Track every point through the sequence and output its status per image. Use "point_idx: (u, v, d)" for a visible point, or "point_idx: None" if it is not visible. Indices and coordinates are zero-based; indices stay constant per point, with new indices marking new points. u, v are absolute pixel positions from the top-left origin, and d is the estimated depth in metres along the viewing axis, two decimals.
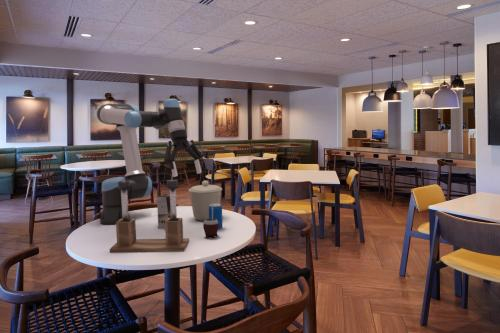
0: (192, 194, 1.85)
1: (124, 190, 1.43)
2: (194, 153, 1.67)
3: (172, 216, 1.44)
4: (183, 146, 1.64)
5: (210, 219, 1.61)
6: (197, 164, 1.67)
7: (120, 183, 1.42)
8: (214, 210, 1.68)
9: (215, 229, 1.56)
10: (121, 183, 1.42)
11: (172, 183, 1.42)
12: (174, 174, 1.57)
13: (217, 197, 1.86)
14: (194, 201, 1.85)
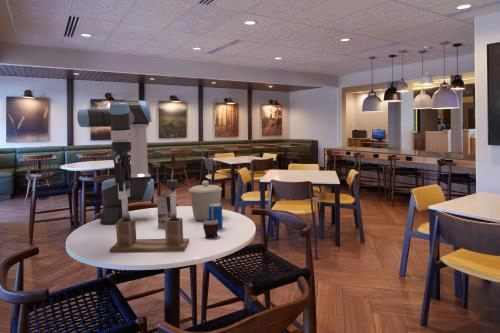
0: (192, 194, 1.85)
1: None
2: (128, 172, 1.46)
3: (172, 216, 1.44)
4: None
5: (210, 219, 1.61)
6: None
7: None
8: (214, 210, 1.68)
9: (215, 229, 1.56)
10: None
11: (172, 183, 1.42)
12: (122, 197, 1.41)
13: (217, 197, 1.86)
14: (194, 201, 1.85)
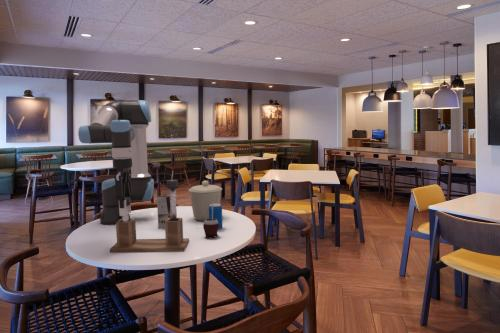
0: (192, 194, 1.85)
1: None
2: (129, 188, 1.47)
3: (172, 216, 1.44)
4: None
5: (210, 219, 1.61)
6: None
7: None
8: (214, 210, 1.68)
9: (215, 229, 1.56)
10: None
11: (172, 183, 1.42)
12: (122, 213, 1.42)
13: (217, 197, 1.86)
14: (194, 201, 1.85)
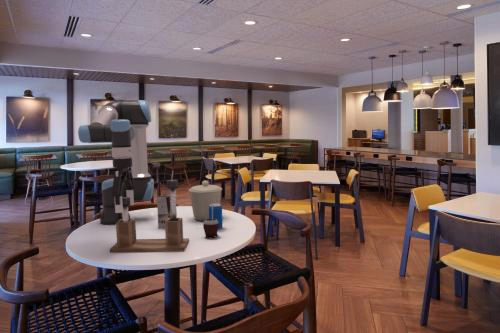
0: (192, 194, 1.85)
1: (125, 207, 1.44)
2: (131, 183, 1.50)
3: (172, 216, 1.44)
4: None
5: (210, 219, 1.61)
6: (130, 195, 1.51)
7: None
8: (214, 210, 1.68)
9: (215, 229, 1.56)
10: (122, 200, 1.42)
11: (172, 183, 1.42)
12: (118, 210, 1.38)
13: (217, 197, 1.86)
14: (194, 201, 1.85)
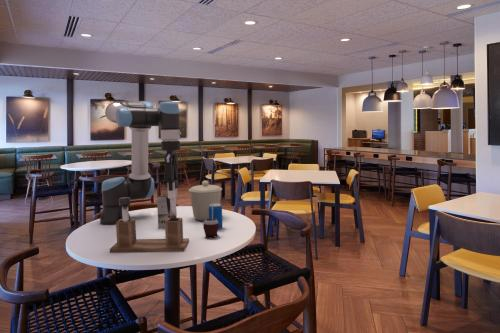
0: (192, 194, 1.85)
1: (125, 207, 1.44)
2: (176, 171, 1.46)
3: (172, 216, 1.44)
4: None
5: (210, 219, 1.61)
6: None
7: (121, 200, 1.42)
8: (214, 210, 1.68)
9: (215, 229, 1.56)
10: (122, 200, 1.42)
11: None
12: (171, 196, 1.42)
13: (217, 197, 1.86)
14: (194, 201, 1.85)
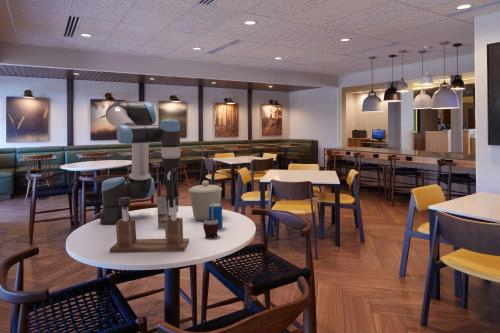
0: (192, 194, 1.85)
1: (125, 207, 1.44)
2: (176, 187, 1.47)
3: None
4: None
5: (210, 219, 1.61)
6: None
7: (121, 200, 1.42)
8: (214, 210, 1.68)
9: (215, 229, 1.56)
10: (122, 200, 1.42)
11: None
12: (172, 213, 1.42)
13: (217, 197, 1.86)
14: (194, 201, 1.85)
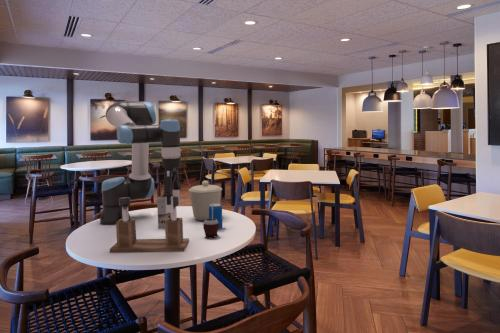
0: (192, 194, 1.85)
1: (125, 207, 1.44)
2: (178, 183, 1.50)
3: None
4: None
5: (210, 219, 1.61)
6: (177, 195, 1.51)
7: (121, 200, 1.42)
8: (214, 210, 1.68)
9: (215, 229, 1.56)
10: (122, 200, 1.42)
11: (173, 200, 1.43)
12: (169, 210, 1.38)
13: (217, 197, 1.86)
14: (194, 201, 1.85)
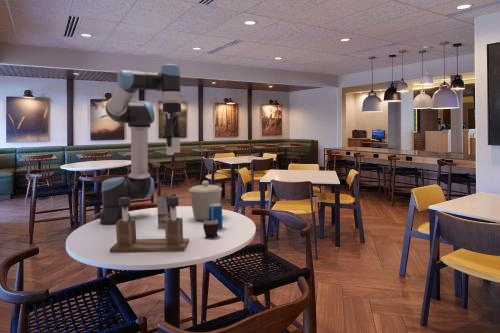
0: (192, 194, 1.85)
1: (125, 207, 1.44)
2: (178, 130, 1.52)
3: None
4: None
5: (210, 219, 1.61)
6: (177, 142, 1.54)
7: (121, 200, 1.42)
8: (214, 210, 1.68)
9: (215, 229, 1.56)
10: (122, 200, 1.42)
11: (173, 200, 1.43)
12: (170, 152, 1.40)
13: (217, 197, 1.86)
14: (194, 201, 1.85)
